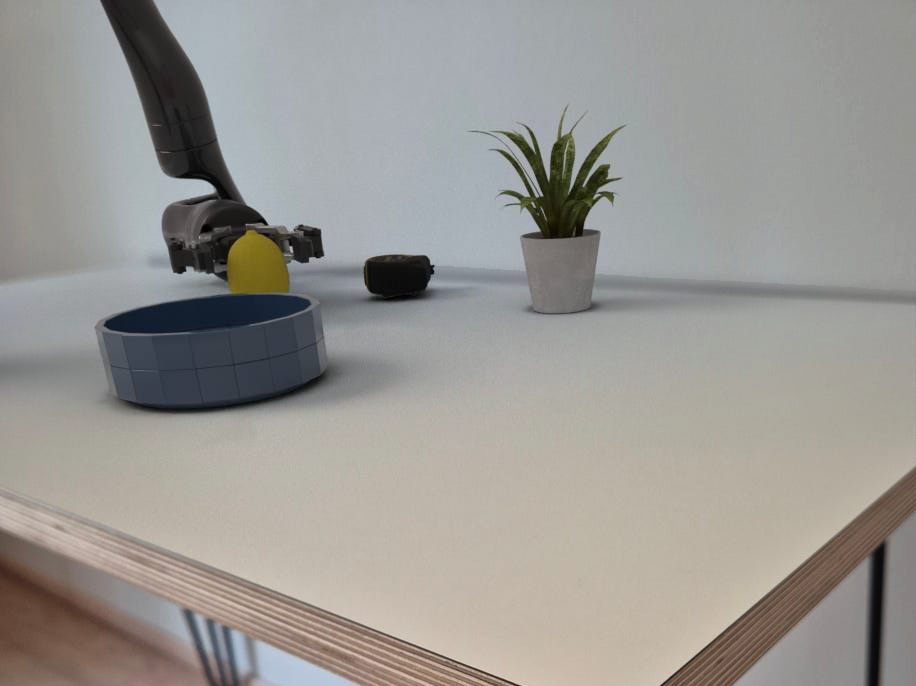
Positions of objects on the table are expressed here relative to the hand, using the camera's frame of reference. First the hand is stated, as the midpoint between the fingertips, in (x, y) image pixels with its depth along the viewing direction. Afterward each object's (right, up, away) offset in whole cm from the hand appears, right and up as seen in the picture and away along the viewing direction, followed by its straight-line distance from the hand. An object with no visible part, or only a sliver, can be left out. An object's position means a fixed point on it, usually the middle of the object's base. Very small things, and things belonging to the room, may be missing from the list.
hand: (257, 255), depth 86 cm
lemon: (0, -5, +4) cm, 6 cm away
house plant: (+26, -5, +1) cm, 26 cm away
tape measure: (+12, +1, +13) cm, 18 cm away
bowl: (+1, -16, -16) cm, 23 cm away
